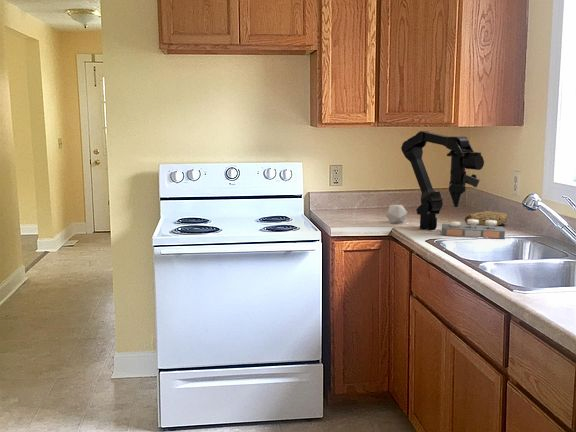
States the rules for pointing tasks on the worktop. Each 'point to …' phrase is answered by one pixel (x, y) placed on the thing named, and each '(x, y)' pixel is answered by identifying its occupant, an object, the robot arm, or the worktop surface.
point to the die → (396, 214)
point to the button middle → (472, 222)
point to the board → (473, 231)
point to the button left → (454, 224)
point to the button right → (490, 223)
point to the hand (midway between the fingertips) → (456, 207)
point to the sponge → (488, 217)
